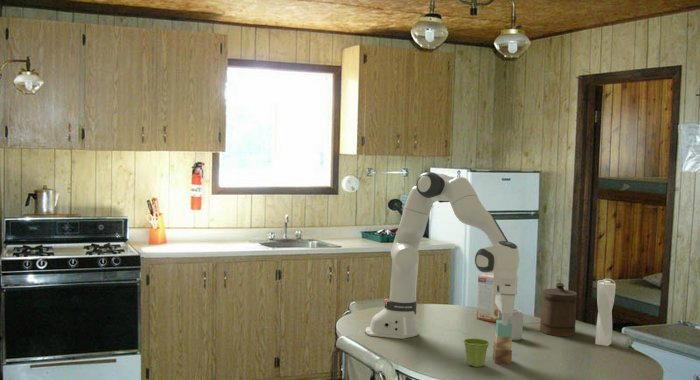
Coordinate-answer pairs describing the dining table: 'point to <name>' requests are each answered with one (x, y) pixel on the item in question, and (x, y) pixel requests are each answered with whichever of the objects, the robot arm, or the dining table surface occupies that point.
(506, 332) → the teal block
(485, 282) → the cracker box
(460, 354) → the dining table surface
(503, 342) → the oak middle block
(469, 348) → the plant pot
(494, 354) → the walnut base block
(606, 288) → the skyscraper
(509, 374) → the dining table surface
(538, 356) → the dining table surface
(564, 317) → the wooden container
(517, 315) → the can
